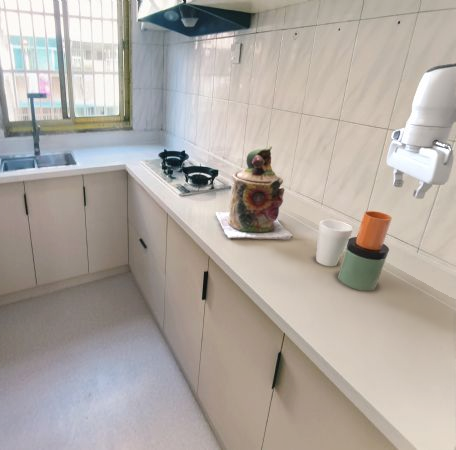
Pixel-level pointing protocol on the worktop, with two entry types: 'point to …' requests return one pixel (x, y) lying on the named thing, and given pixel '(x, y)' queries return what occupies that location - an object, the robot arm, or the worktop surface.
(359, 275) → the jar
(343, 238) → the foam cup
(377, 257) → the jar lid
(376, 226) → the cup
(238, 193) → the cookie jar
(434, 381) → the worktop surface
